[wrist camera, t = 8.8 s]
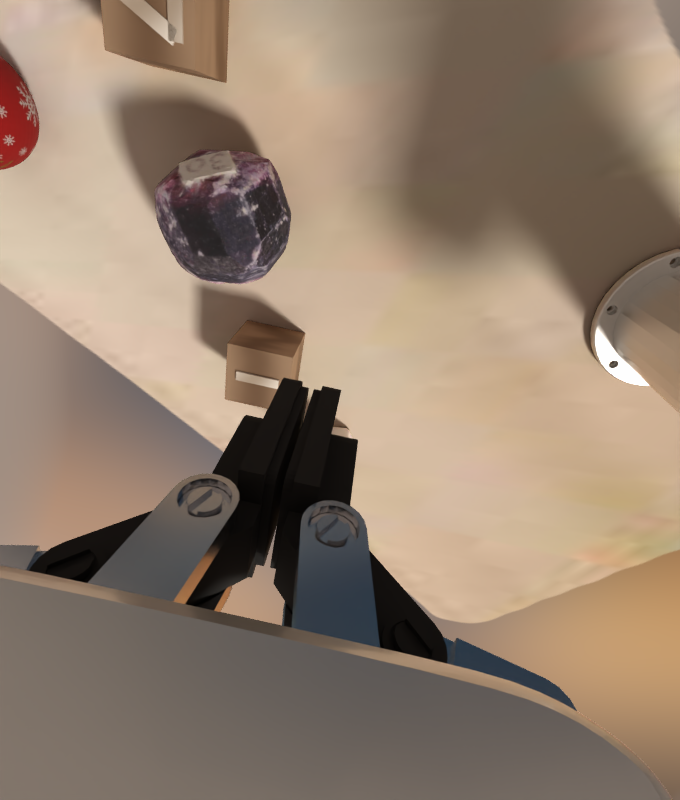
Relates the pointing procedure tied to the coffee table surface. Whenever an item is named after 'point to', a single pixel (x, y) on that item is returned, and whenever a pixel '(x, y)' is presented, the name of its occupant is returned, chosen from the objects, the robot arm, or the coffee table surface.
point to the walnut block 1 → (261, 362)
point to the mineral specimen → (224, 215)
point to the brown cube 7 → (170, 34)
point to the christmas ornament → (16, 118)
